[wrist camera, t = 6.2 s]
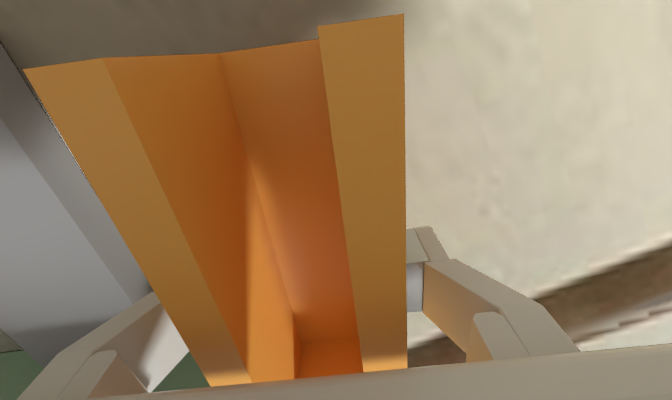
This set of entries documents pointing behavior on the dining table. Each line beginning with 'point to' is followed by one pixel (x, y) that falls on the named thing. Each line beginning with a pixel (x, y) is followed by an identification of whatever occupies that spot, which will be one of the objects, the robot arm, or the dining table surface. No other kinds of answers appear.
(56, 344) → the green coffee machine
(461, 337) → the robot arm
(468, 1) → the dining table surface
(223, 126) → the chute
